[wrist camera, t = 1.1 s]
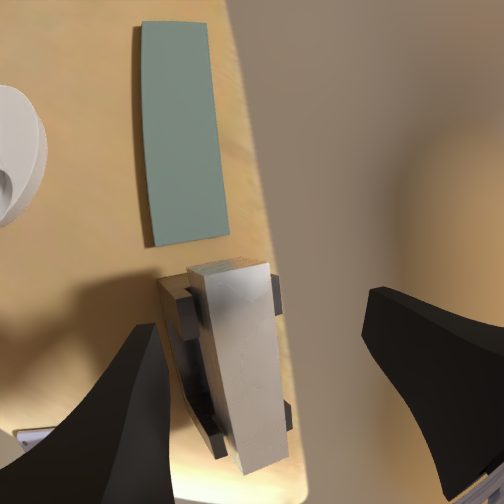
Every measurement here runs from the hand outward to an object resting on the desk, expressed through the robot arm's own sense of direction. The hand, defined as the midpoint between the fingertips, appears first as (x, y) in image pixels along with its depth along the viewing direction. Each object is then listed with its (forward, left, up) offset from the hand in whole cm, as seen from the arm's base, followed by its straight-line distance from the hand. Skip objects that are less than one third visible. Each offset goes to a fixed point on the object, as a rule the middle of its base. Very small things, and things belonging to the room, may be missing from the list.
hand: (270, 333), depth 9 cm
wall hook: (+9, +12, -11) cm, 18 cm away
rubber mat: (+11, -1, -11) cm, 15 cm away
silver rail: (-4, -1, -7) cm, 8 cm away
